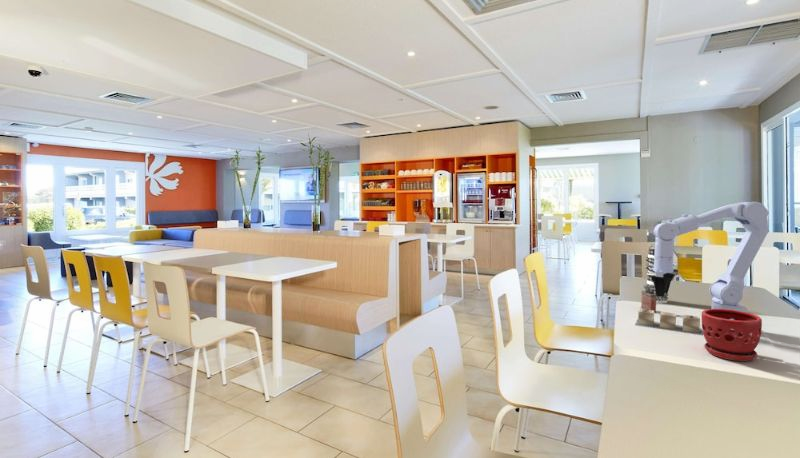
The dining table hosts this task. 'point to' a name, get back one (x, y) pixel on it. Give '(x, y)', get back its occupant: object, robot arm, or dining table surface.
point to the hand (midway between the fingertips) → (662, 294)
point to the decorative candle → (651, 272)
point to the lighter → (648, 299)
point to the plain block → (668, 320)
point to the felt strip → (678, 329)
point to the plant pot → (731, 333)
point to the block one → (691, 323)
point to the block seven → (646, 317)
